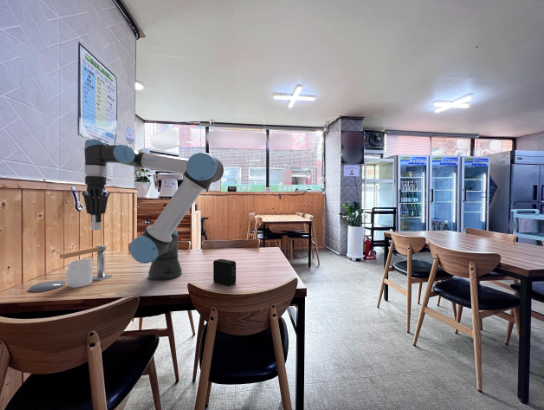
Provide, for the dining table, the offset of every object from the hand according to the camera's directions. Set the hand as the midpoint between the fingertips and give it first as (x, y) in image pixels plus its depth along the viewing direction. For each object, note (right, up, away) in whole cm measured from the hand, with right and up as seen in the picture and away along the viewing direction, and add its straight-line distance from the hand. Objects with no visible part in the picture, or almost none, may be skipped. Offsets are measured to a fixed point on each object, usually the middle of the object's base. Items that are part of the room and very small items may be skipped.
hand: (96, 229), depth 106 cm
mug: (-7, -24, -2) cm, 25 cm away
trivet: (-18, -24, -3) cm, 31 cm away
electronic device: (+56, -24, +2) cm, 61 cm away
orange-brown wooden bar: (-6, -11, +1) cm, 12 cm away
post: (-4, -24, +9) cm, 26 cm away
